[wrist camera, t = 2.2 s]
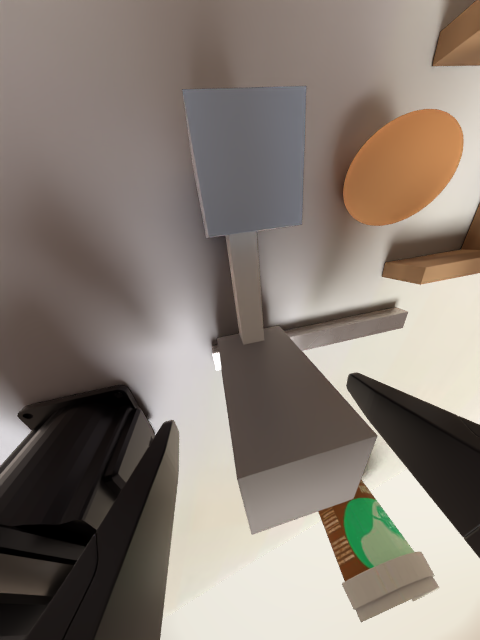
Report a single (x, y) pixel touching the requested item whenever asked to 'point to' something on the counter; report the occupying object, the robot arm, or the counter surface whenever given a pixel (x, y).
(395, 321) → the rail
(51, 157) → the counter surface
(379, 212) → the ball
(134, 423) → the robot arm
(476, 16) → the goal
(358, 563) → the food container
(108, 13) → the counter surface
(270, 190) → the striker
